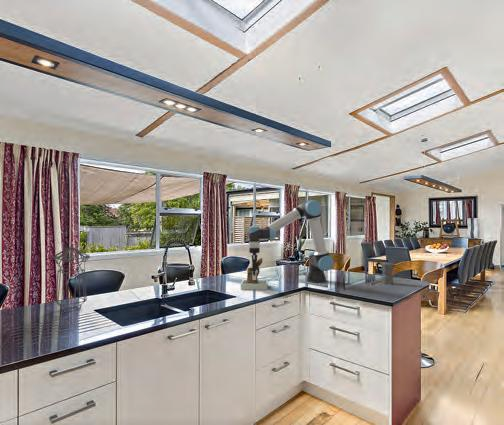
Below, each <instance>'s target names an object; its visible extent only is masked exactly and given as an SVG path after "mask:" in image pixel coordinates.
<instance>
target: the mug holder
mask: <svg viewBox="0 0 504 425" xmlns="http://www.w3.org/2000/svg"><path fill="white" fill-rule="evenodd" d="M246 281H247V279H242V281H241V282H240V290H244V291H245V290H254V291H255V290H257V291H259V290H263V291H265V290H266V291H267V290H268V287H269V281H268V279H267V280H266V279H265V280H264V279H261V280H260V279H258V284H246Z"/></svg>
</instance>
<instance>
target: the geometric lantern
mask: <svg viewBox="0 0 504 425" xmlns="http://www.w3.org/2000/svg"><path fill="white" fill-rule="evenodd" d="M69 253H70V254H69ZM68 254H69V255H68ZM78 256H80V257H78ZM50 258H51V259H52V258H53V260H54V261H55V264H56V265H58V268H59V269H58V270H56V272H57V274H56V288H55V301H54V302H55V303H56V304H57V305H58V306H59V310H60V309H62V310H63V308H66V309H65V311H69V312H72V311H71V310H72V308H74V309H73V311H77V310H76V309H77V308H78V307H79V308H78V310H81V309H82V305H83V304H84V303H85V302H87V286H86V285H87V282H86V262H87V261H88V260H89V259H90V258H91V255H90V254H89V255H88V254H87V253H85V252H83V251H82V250H80V249H78V248H76V247H74V246H69V247H67V248H65V249H63V250H62V251H61V250H60V251H59V252H58V253H56V254H55V255H53V256H51V257H50ZM79 260H80V261H79ZM74 261H77V262H75V263H74ZM61 262H62V263H61ZM65 263H70V264H71V265H70V267H68V268H67V269H62V267H63V266H64V264H65ZM82 263H83V264H84V265H83V267H84V269H82V266H81V265H82ZM60 264H61V265H60ZM76 265H78V267H77V266H76ZM72 266H74V267H75V268H72ZM70 270H74V271H73V273H74V294H73V297H70V298H69V297H68V274H71V273H72V271H70ZM65 271H66V272H65ZM68 271H69V272H68ZM80 272H81V278H82V292H83V293H82V295H83V297H81V283H80V282H81V281H80V280H81V279H80ZM61 274H62V276H61ZM77 274H78V275H77ZM77 276H78V296H76V293H77V292H76V291H77ZM61 277H62V284H61ZM64 282H65V291H66V292H65V295H66V296H65V298H63V297H64V296H63V295H64ZM61 285H62V286H61ZM60 286H61V287H60ZM60 288H61V298H60ZM72 299H73V302H71V303H69V302H68V300H72ZM75 299H76V301H75ZM80 299H81V300H82V301H79V300H80ZM63 301H66V302H65V303H63ZM69 305H72V306H73V307H72V306H69ZM70 308H71V310H70ZM75 308H76V309H75Z"/></svg>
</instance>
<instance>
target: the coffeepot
mask: <svg viewBox="0 0 504 425" xmlns="http://www.w3.org/2000/svg"><path fill="white" fill-rule="evenodd" d="M385 261H386V262H380V261H377V262H376V263H375V266H376V269H377V272H378V273H380V274H381V273H382V276H381V277H382V278H381V281H380V282H381V283H380V284H382V283H383V285H388V284H391V285H394V279H393V270H394V269H395V267H396V266H397V265H396V264H395V263H392V262H390V261H389V259H386V260H385ZM379 265H380V266H381V271H380V266H379Z"/></svg>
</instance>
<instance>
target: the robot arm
mask: <svg viewBox="0 0 504 425" xmlns="http://www.w3.org/2000/svg"><path fill="white" fill-rule="evenodd" d="M322 207H323V206H322V204H321V203H320V202H319V201H317V200H314V199H312V200H305V201H303V202H302V203H301V202H300V204H299V205H297V206H296V207H293V210H291V211H290V212H288V213H287V214H285V215H283V216H281V217H280V218H278V219H276V220H274V221H272V222H271V223H269V224H268V225H266V226H264V227H262V228H260V226H254V225H253V226H249V228H248V229H249V230H248V231H249V232H248V233H249V234H248V235H249V236H248V238H249V239H248V240H249V241H248V246H249V248H248V252H249V254H252V255H251V268H252V270H251V271H252V280H256V264H257V261H258V255H257V254H259V253H260V241H261V240H275V238H276V236H277V234H276V233H277V232H278V231H279V230H281V229H283V228H284V227H287V226H289V224H291V223H293V222H295V221H296V220H300V219H302V218H304V217H305V220H306V221H307V222H308V226H309V229H310V233H311V234H310V235H311V238H312V242H313V249H314V252H313V251H312V252H309V254H308V274H307V277H306V281H307V282H310V283H325V282H327V278H326V277H327V276H326V273H325V272H328V271H330V270H331V269H332V268H333V266H334V259H333V258H332V256H331V254H330V251H329V250H328V249H327V247H326V246H327V245H326V243H325V242H326V241H325V237H324V233H323V228H322V223H321V218H322V213H321V212H322V210H323V209H322Z"/></svg>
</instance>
